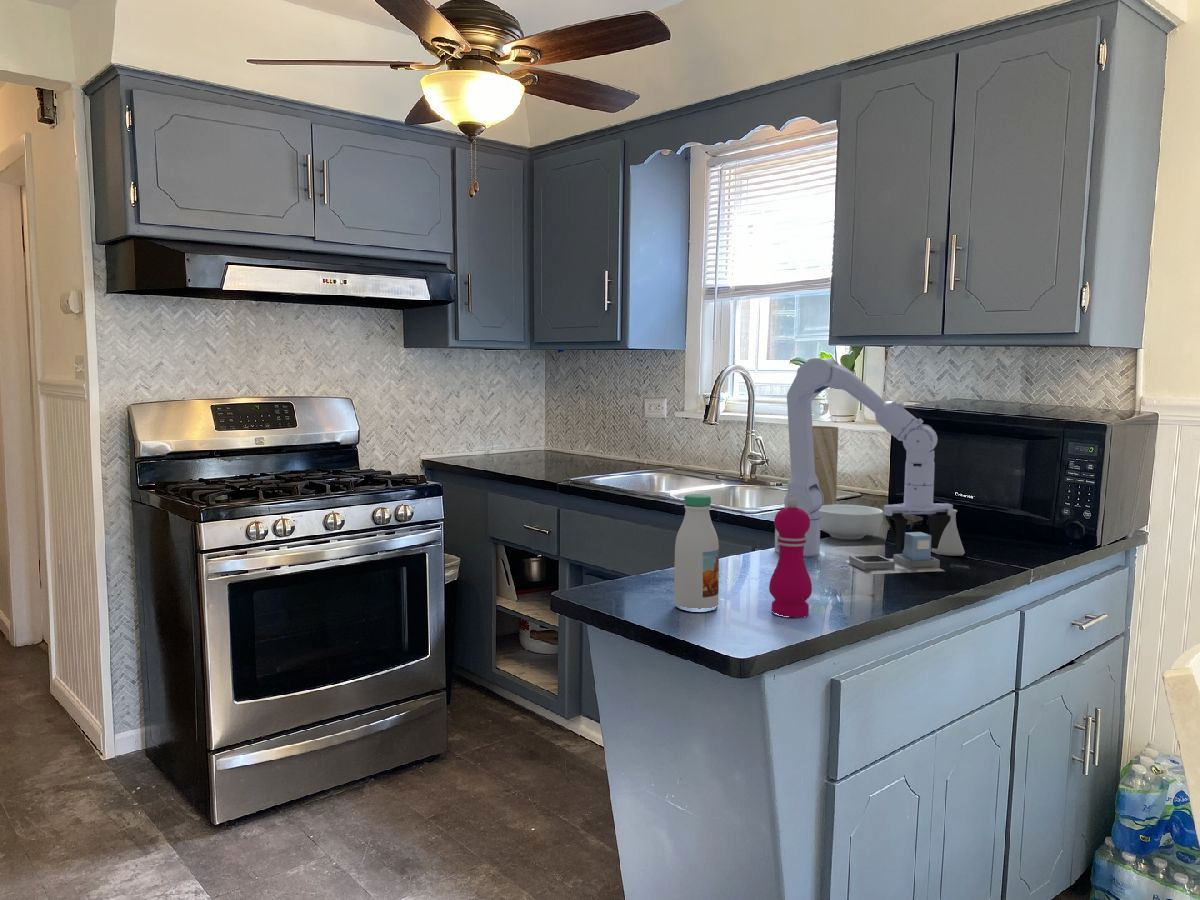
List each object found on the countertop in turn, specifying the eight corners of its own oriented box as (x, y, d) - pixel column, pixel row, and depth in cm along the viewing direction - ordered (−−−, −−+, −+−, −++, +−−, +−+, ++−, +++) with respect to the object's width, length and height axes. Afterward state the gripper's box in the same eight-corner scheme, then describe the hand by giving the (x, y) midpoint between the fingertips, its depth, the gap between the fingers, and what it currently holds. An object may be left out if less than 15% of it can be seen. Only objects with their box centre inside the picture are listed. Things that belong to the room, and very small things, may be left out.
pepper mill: (803, 621, 148) (806, 503, 146) (762, 615, 152) (764, 499, 150) (817, 611, 154) (820, 497, 152) (777, 605, 158) (779, 494, 156)
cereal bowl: (896, 538, 219) (897, 510, 218) (851, 546, 209) (852, 516, 209) (842, 527, 233) (843, 501, 232) (797, 534, 223) (798, 506, 223)
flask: (968, 557, 198) (969, 513, 197) (933, 556, 199) (935, 511, 198) (961, 550, 205) (963, 507, 204) (928, 549, 206) (930, 506, 205)
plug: (914, 568, 183) (915, 536, 182) (902, 563, 187) (903, 532, 187) (932, 567, 183) (933, 536, 183) (920, 562, 188) (921, 532, 187)
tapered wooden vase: (791, 515, 251) (793, 427, 249) (815, 511, 257) (817, 425, 255) (820, 520, 243) (822, 429, 241) (843, 516, 249) (846, 427, 247)
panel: (869, 578, 178) (870, 566, 178) (843, 565, 190) (843, 553, 189) (946, 575, 181) (947, 562, 180) (915, 562, 192) (916, 550, 192)
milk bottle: (687, 616, 152) (689, 499, 150) (666, 604, 159) (667, 493, 157) (726, 611, 155) (728, 497, 153) (704, 600, 162) (705, 491, 160)
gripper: (896, 487, 179) (893, 553, 180) (962, 485, 182) (959, 551, 183) (879, 482, 186) (877, 546, 187) (943, 481, 188) (940, 544, 190)
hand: (916, 548), depth 186 cm, fingers open, 7 cm apart
